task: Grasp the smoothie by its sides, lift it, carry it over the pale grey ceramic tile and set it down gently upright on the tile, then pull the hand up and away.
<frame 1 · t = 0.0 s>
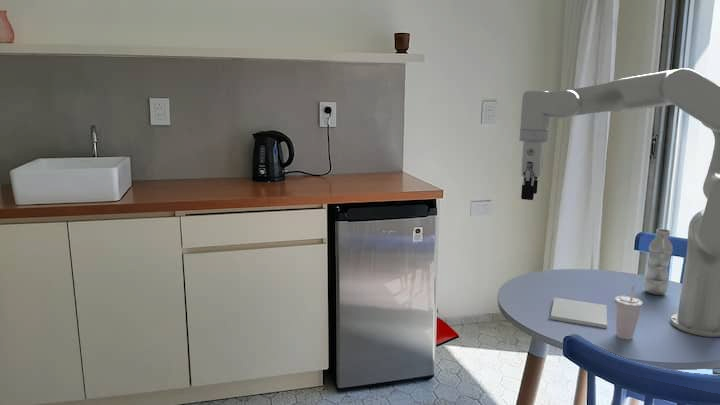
hand: (529, 196, 151), 31 cm above the table, tool pointing down, fingers open, 9 cm apart
plastic bottle: (654, 293, 163), on the table
smoothie: (624, 336, 135), on the table
tile: (578, 313, 148), on the table
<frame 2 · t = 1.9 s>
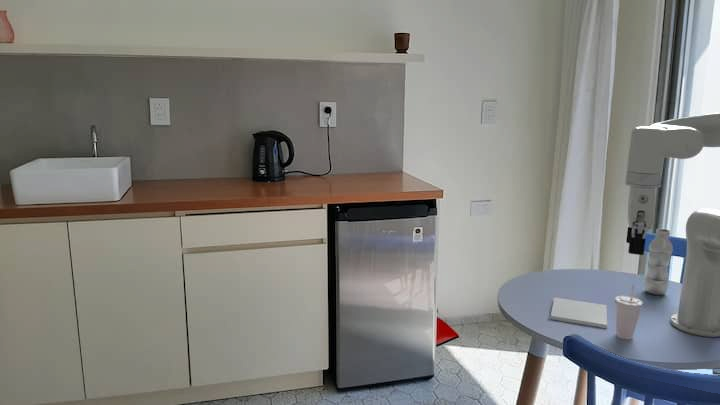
hand: (634, 248, 130), 23 cm above the table, tool pointing down, fingers open, 9 cm apart
nothing on the table moved.
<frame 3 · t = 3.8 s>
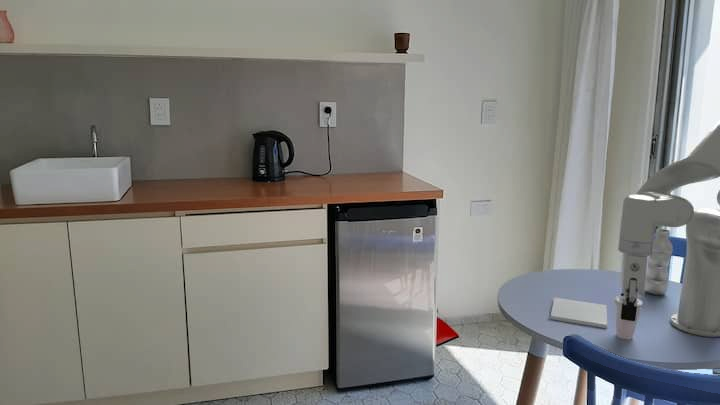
hand: (627, 313, 134), 6 cm above the table, tool pointing down, fingers closed on smoothie, 6 cm apart
smoothie: (624, 336, 135), on the table, touching gripper
everything else where it was.
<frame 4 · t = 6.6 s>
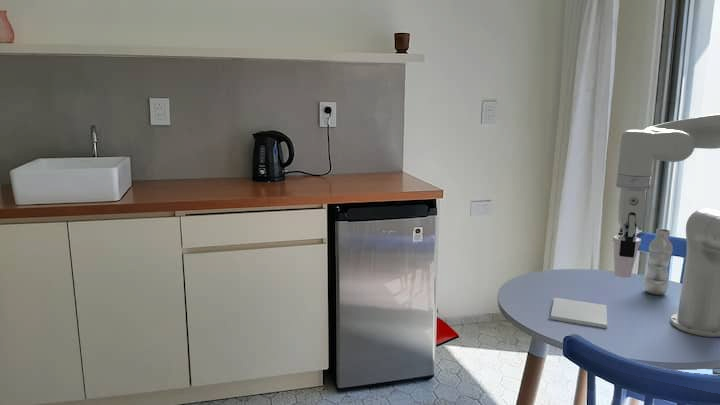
hand: (625, 251, 133), 22 cm above the table, tool pointing down, fingers closed on smoothie, 6 cm apart
smoothie: (622, 275, 134), point 15 cm above the table, touching gripper
everything else where it was.
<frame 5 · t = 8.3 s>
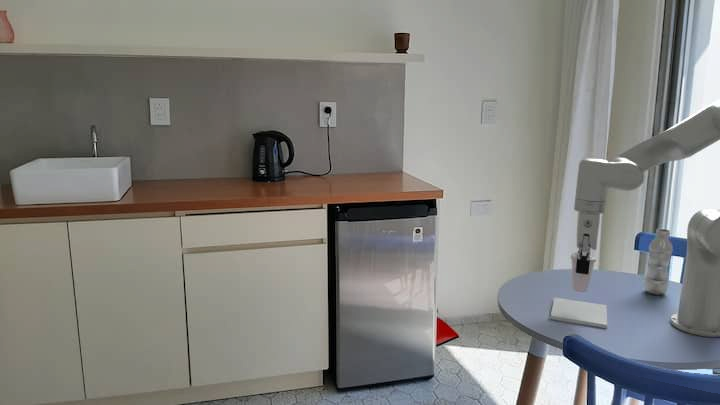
hand: (582, 268, 145), 13 cm above the table, tool pointing down, fingers closed on smoothie, 6 cm apart
smoothie: (579, 290, 147), point 7 cm above the table, touching gripper
everything else where it was.
when the fingers open (8 cm above the table, at t = 9.6 s): smoothie drops 1 cm, resting on tile.
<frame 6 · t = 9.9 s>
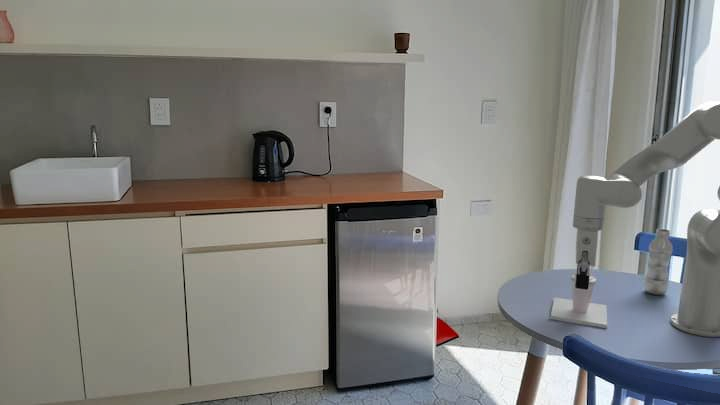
hand: (582, 282, 146), 9 cm above the table, tool pointing down, fingers open, 9 cm apart
smoothie: (579, 311, 148), point 1 cm above the table, touching tile
everything else where it was.
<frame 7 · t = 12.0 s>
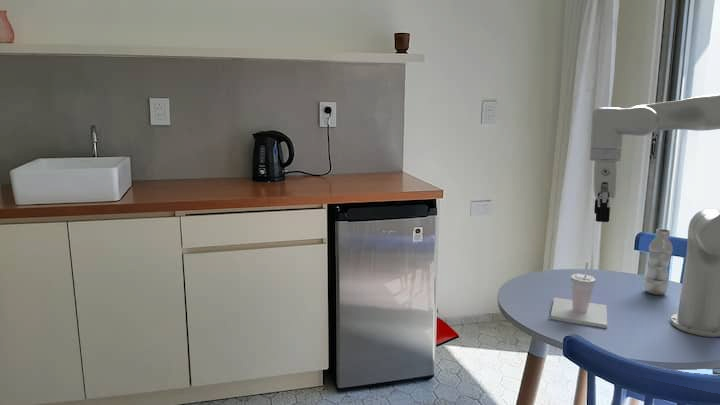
hand: (601, 217, 144), 27 cm above the table, tool pointing down, fingers open, 9 cm apart
nothing on the table moved.
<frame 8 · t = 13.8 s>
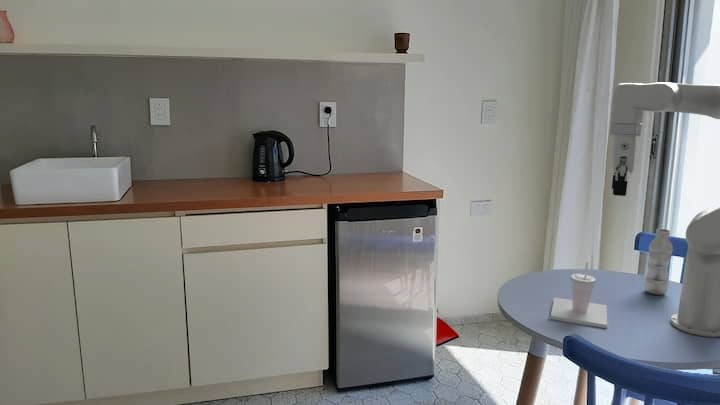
hand: (618, 192, 147), 33 cm above the table, tool pointing down, fingers open, 9 cm apart
nothing on the table moved.
at the end: smoothie inside the target area on the tile (0.2 cm from its centre), point 0.8 cm above the tile's base; smoothie tilted 0°; the gripper is holding nothing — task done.
